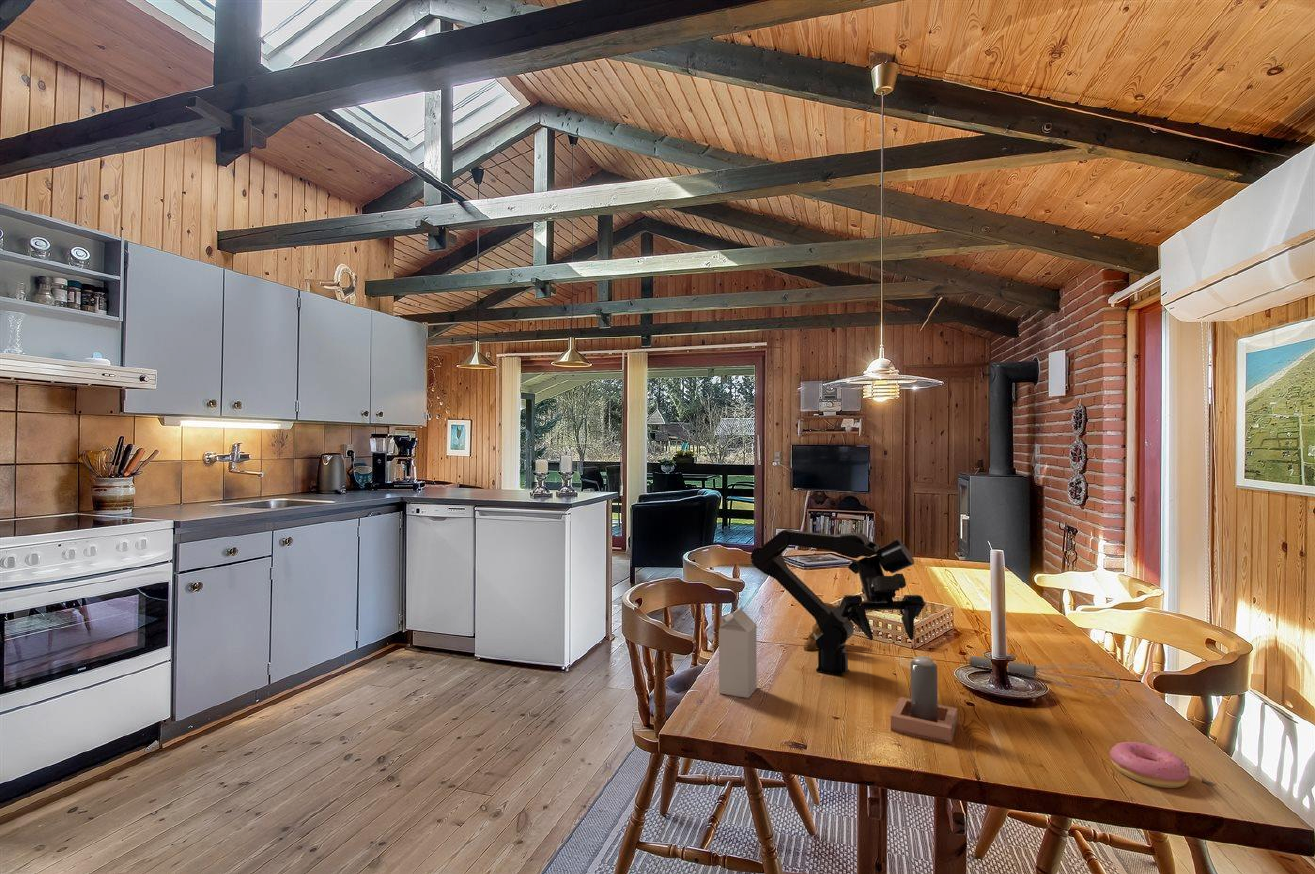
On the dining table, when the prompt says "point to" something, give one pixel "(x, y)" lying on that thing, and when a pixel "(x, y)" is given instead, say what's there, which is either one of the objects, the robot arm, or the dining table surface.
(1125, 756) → the doughnut
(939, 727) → the terracotta holder
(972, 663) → the kitchen whisk
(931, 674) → the pepper mill
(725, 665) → the milk carton
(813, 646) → the stuffed squirrel
